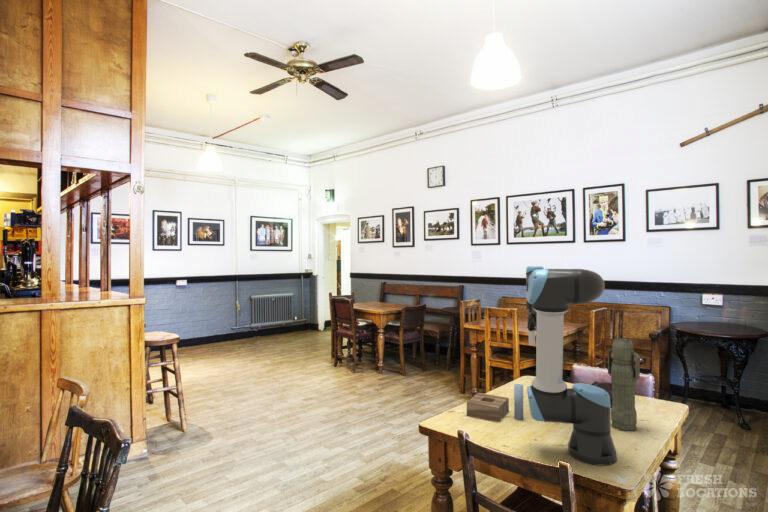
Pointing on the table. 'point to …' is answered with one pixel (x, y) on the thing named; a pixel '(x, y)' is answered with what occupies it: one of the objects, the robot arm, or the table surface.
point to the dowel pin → (518, 402)
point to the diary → (605, 388)
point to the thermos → (623, 383)
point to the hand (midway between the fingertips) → (535, 348)
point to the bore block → (488, 407)
